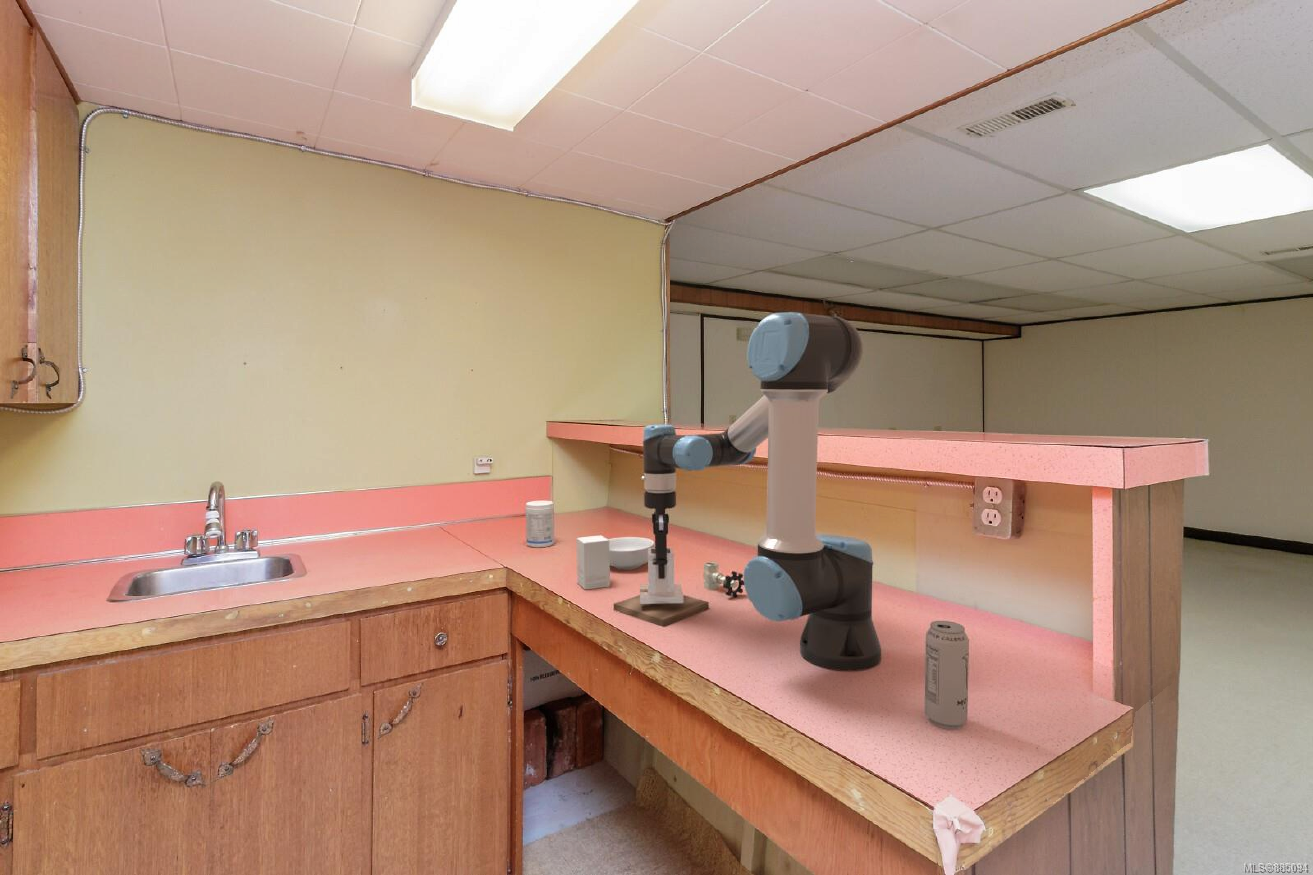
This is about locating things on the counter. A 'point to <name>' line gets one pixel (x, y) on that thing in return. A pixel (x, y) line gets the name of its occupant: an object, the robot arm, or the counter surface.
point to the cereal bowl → (629, 552)
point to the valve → (721, 579)
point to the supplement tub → (540, 523)
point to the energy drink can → (946, 674)
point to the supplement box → (593, 562)
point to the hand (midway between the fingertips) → (661, 586)
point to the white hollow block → (649, 590)
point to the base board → (661, 609)
